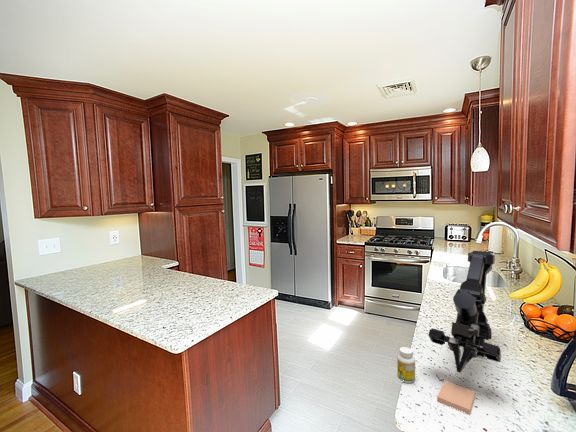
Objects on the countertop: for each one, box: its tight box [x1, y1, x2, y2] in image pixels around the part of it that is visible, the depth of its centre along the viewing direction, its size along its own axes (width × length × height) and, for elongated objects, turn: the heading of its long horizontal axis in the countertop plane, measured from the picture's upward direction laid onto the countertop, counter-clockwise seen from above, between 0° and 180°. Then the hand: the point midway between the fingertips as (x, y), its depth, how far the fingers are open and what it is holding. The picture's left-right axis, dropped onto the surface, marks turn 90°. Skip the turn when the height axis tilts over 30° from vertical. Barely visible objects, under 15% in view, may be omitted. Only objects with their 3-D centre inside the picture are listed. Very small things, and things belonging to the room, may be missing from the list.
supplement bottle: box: [396, 346, 416, 384], centre depth 92 cm, size 5×5×10 cm
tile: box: [436, 380, 476, 416], centre depth 82 cm, size 2×8×9 cm
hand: (458, 371), depth 83 cm, fingers closed
